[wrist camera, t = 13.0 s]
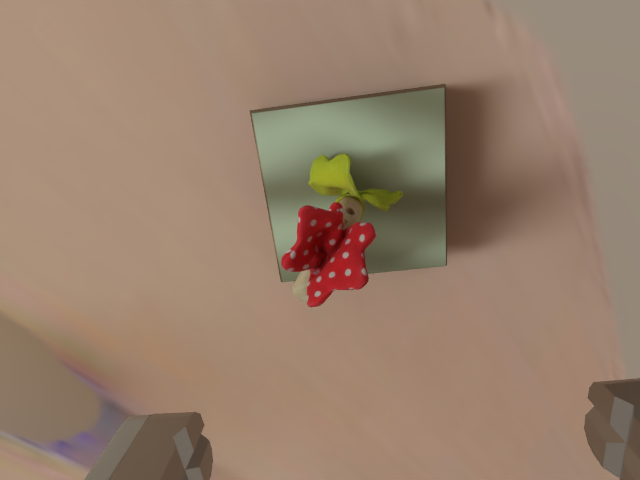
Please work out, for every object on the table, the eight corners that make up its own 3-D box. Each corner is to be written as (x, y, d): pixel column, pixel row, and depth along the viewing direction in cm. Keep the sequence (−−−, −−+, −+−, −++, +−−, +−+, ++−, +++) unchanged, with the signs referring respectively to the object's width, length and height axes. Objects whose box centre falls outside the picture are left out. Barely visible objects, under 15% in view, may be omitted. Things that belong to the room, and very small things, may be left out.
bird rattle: (362, 248, 30) (419, 158, 24) (343, 376, 22) (421, 291, 16) (290, 220, 29) (328, 120, 23) (243, 341, 21) (283, 239, 15)
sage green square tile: (435, 248, 32) (448, 268, 28) (286, 263, 33) (280, 284, 29) (432, 85, 27) (447, 83, 24) (259, 109, 28) (248, 110, 25)
